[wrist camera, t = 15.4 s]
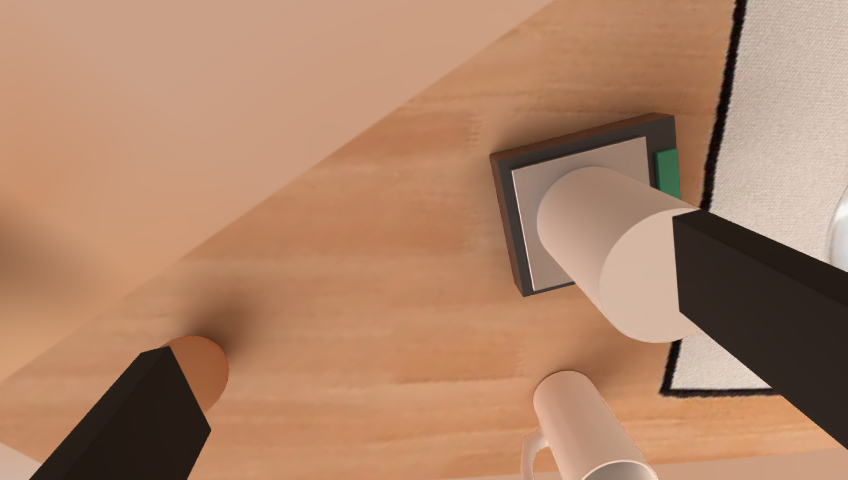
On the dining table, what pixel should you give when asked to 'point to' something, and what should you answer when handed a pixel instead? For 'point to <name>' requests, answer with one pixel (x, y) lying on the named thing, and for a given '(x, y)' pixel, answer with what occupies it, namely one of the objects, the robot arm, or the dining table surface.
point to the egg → (202, 367)
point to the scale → (650, 125)
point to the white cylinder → (618, 249)
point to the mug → (581, 433)
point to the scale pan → (543, 174)
